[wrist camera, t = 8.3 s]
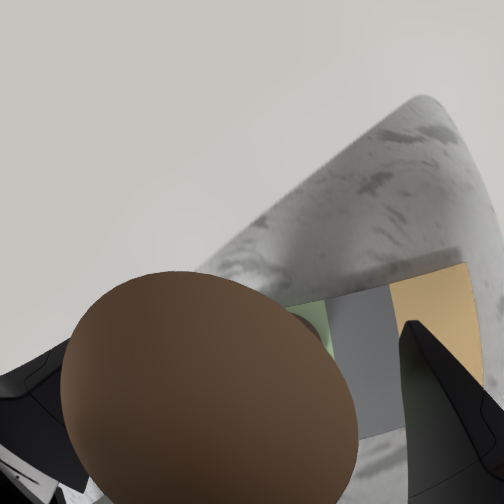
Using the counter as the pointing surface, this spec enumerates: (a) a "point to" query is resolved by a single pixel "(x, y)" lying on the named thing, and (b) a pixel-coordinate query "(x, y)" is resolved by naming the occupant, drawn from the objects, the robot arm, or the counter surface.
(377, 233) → the counter surface
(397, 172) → the counter surface
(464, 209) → the counter surface
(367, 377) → the striped board
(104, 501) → the skincare box
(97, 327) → the walnut peg
